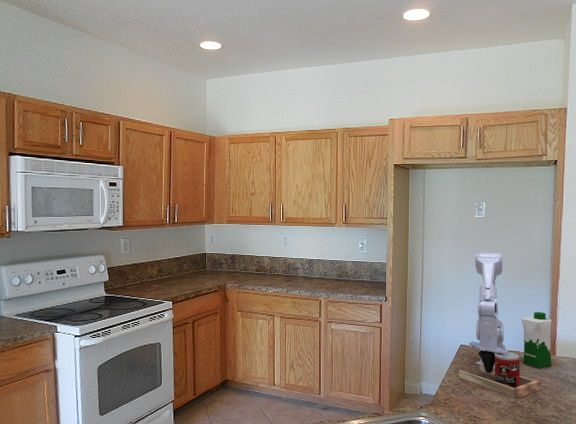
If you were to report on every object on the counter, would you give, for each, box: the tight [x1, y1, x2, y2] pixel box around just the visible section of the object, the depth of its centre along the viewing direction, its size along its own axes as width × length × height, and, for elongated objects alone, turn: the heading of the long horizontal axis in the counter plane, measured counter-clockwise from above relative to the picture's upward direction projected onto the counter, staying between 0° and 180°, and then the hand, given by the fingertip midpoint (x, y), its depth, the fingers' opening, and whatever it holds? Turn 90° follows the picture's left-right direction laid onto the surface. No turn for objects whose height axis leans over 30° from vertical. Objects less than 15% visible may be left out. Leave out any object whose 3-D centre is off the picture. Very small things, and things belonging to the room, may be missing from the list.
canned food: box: [494, 351, 521, 388], centre depth 157 cm, size 8×8×11 cm
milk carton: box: [521, 311, 553, 370], centre depth 178 cm, size 9×9×20 cm
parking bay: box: [458, 364, 542, 399], centre depth 160 cm, size 13×23×3 cm, turn 32°
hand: (488, 372), depth 163 cm, fingers closed
